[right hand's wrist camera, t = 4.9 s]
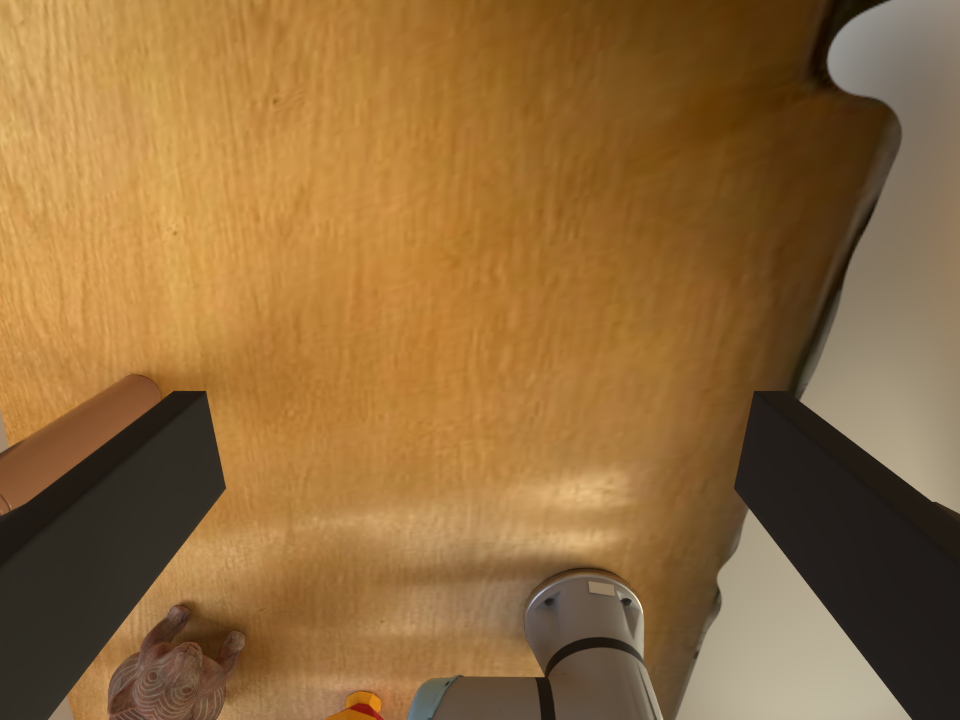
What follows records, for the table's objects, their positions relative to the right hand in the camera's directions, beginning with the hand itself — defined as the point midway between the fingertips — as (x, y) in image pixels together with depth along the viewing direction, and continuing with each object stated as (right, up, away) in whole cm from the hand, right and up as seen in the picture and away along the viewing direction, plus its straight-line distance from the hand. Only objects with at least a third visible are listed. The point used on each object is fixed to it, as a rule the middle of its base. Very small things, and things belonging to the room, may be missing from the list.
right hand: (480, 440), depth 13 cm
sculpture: (-38, -35, +57) cm, 77 cm away
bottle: (-37, -2, +44) cm, 58 cm away
